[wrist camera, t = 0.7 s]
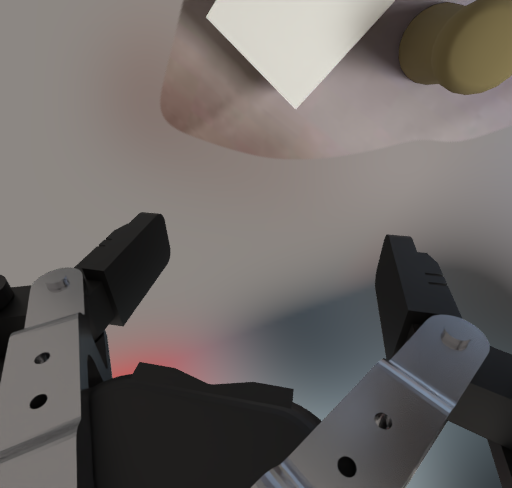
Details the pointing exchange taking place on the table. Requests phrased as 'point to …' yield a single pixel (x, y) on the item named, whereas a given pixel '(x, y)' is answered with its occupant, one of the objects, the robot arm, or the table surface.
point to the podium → (295, 37)
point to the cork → (460, 46)
